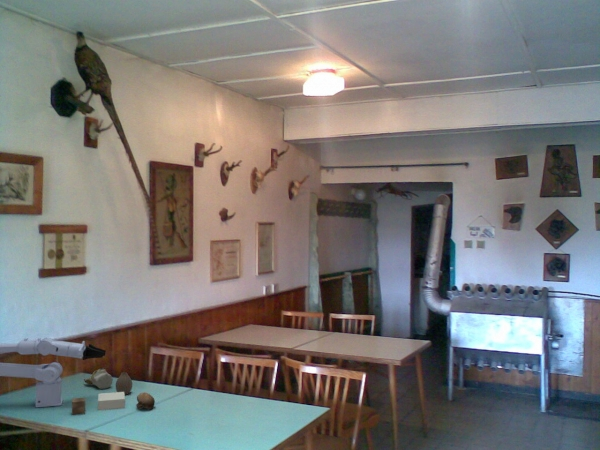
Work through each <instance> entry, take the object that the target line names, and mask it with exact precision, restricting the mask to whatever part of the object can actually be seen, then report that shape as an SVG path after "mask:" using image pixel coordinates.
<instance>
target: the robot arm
mask: <svg viewBox="0 0 600 450" xmlns="http://www.w3.org/2000/svg"><path fill="white" fill-rule="evenodd" d="M85 343H86V342H85V340H83V341H82V342H81V343H77V342H72V341H71V342H70V341H63V340H55V339H53V338H52V337H44V338H43V339H41V337H40V338H37V339H29V338H26V337H25V338H24V339H21V340H19V342H18V343H15V342H12V343H7V342H6V343H3V342H2V343H1V342H0V354H5V353H18V354H19V355H39V354H41V355H42V356H48V355H54V356H60V357H61V356H62V357H67V358H76V359H80V360H81V359H82V361H86V360H88V359H102V358H103V357H105V356H106V353H107V350H106V349H103V348H99V347H96V346H95V345H93V344H92V343H89V344H88V345H86V344H85ZM63 369H64V368H63V366H62V365H61V364H60V363H59V362H54V361H53V362H51V363H50V362H49V363H42V364H27V363H25V364H24V363H12V362H11V363H8V362H0V377H11V378H12V377H13V378H28V379H35V380H36V381H40V382H36V384H35V385H36V386H35V398H34V399H35V400H34V401H35V408H46V407H47V408H48V407H57V406H59V407H60V406H62V404H63V400H64V398H62V378H61V375H62V374H63V372H64V371H63Z"/></svg>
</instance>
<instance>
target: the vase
mask: <svg viewBox="0 0 600 450" xmlns="http://www.w3.org/2000/svg"><path fill="white" fill-rule="evenodd" d="M132 389H133V380H132V379H131V377H130V376H129V375H128V373H127V372H121V373H120V375H119V376H118V378H117V379H116V382H115V392H124V394H125V396H127V395H128V394H130V393H131V391H132Z"/></svg>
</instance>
